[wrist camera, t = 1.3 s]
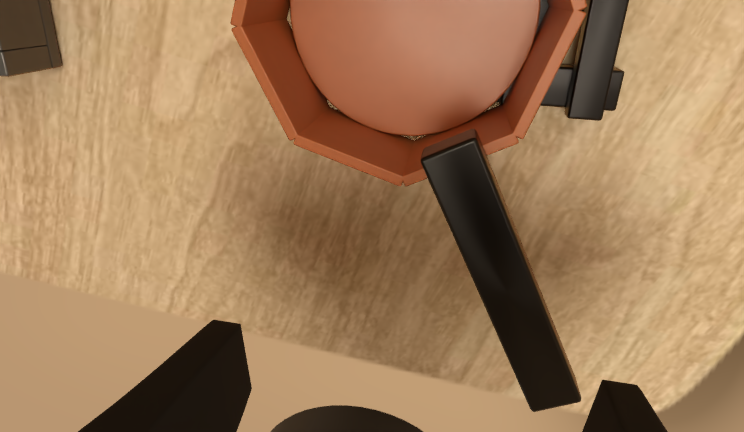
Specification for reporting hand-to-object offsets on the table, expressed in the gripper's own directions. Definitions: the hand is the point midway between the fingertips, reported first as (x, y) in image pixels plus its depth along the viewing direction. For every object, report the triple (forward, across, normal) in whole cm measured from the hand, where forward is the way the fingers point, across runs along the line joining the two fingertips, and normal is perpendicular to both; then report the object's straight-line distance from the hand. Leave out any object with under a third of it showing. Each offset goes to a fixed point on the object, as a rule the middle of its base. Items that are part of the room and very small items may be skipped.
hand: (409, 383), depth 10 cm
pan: (+8, 0, -2) cm, 9 cm away
